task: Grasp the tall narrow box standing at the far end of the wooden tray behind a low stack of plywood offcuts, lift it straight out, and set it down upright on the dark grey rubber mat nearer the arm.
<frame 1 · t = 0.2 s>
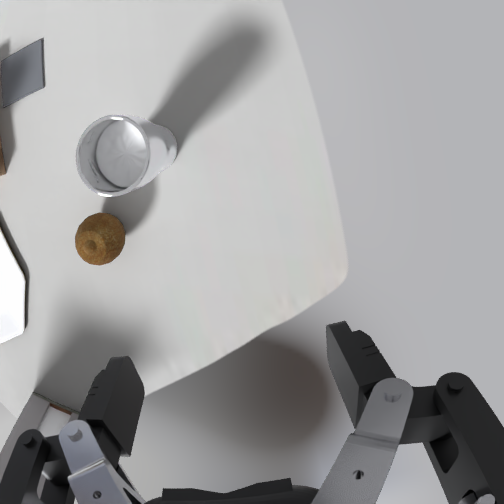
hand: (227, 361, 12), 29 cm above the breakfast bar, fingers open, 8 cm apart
beer glass: (153, 148, 36), on the breakfast bar
fruit: (111, 228, 39), on the breakfast bar
mat: (21, 73, 29), on the breakfast bar
cabinet: (49, 406, 50), on the breakfast bar
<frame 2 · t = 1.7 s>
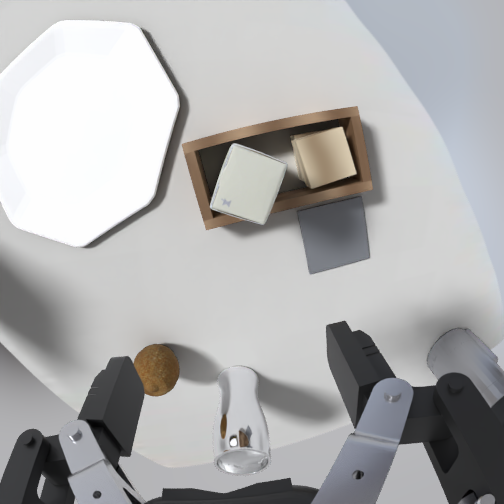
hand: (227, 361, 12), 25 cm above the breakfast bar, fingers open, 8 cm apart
box: (241, 170, 34), resting in wooden tray
beer glass: (237, 379, 44), on the breakfast bar
fruit: (161, 350, 42), on the breakfast bar
plate: (66, 128, 31), on the breakfast bar
wooden tray: (277, 162, 34), on the breakfast bar
mat: (335, 235, 37), on the breakfast bar
offcut a: (315, 153, 34), resting in wooden tray, touching offcut b
offcut b: (320, 156, 32), point 2 cm above the breakfast bar, touching offcut a
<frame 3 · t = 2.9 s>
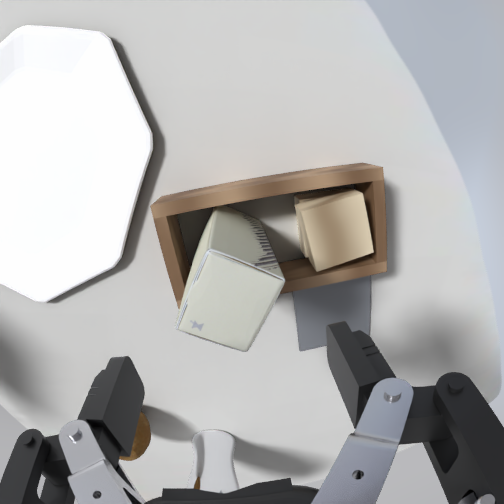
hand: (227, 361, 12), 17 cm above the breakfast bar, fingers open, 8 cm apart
box: (227, 234, 28), resting in wooden tray
beer glass: (213, 440, 38), on the breakfast bar
fruit: (132, 409, 35), on the breakfast bar
plate: (23, 162, 24), on the breakfast bar
wooden tray: (272, 226, 28), on the breakfast bar
mat: (333, 311, 31), on the breakfast bar
offcut a: (323, 217, 28), resting in wooden tray, touching offcut b
offcut b: (330, 224, 26), point 2 cm above the breakfast bar, touching offcut a
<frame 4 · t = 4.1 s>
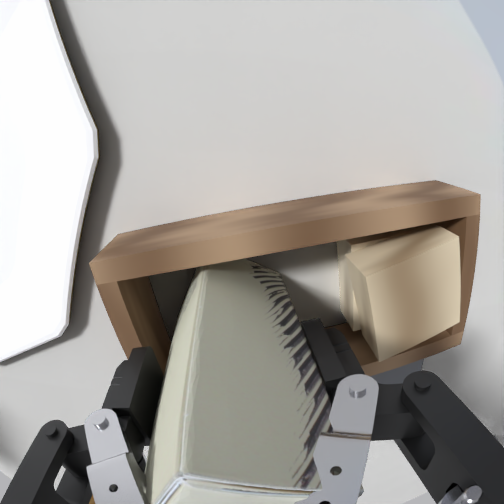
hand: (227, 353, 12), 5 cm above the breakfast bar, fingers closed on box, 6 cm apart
box: (227, 292, 17), resting in wooden tray, touching gripper
wooden tray: (299, 281, 17), on the breakfast bar
mat: (374, 384, 21), on the breakfast bar
offcut a: (376, 263, 18), resting in wooden tray, touching offcut b
offcut b: (397, 280, 15), point 2 cm above the breakfast bar, touching offcut a
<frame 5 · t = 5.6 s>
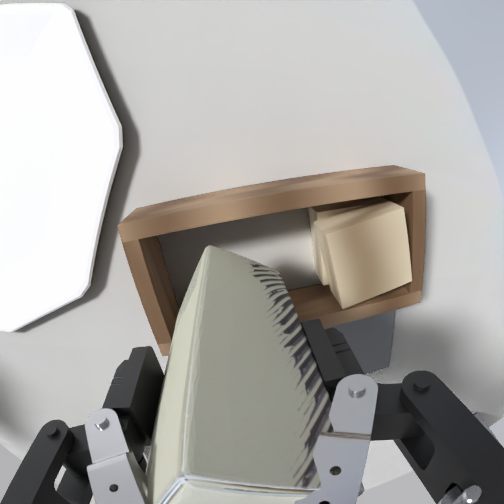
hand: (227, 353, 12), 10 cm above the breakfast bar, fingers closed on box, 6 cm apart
box: (226, 291, 17), point 5 cm above the breakfast bar, touching gripper
wooden tray: (280, 246, 22), on the breakfast bar
mat: (350, 344, 25), on the breakfast bar
offcut a: (343, 232, 22), resting in wooden tray
offcut b: (357, 245, 20), point 2 cm above the breakfast bar
when the fingers open (7 cm above the breakfast bar, at t = 11.3 s): box drops 1 cm, resting on mat.
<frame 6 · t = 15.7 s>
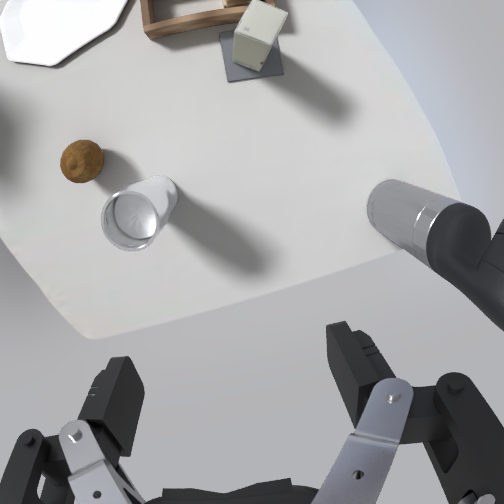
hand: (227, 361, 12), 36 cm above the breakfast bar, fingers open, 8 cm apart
box: (252, 52, 38), resting on mat
beer glass: (158, 195, 45), on the breakfast bar
fruit: (93, 158, 42), on the breakfast bar
wooden tray: (206, 2, 35), on the breakfast bar
mat: (250, 52, 38), on the breakfast bar
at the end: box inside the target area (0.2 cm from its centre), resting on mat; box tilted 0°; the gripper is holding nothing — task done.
